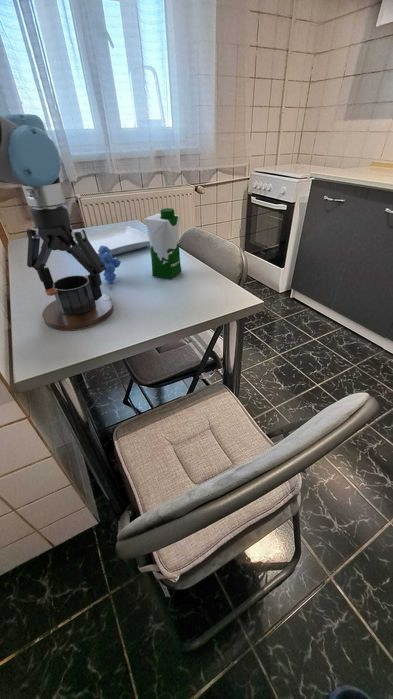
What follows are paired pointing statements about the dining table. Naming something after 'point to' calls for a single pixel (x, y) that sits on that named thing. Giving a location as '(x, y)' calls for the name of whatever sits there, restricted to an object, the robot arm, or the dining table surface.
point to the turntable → (78, 315)
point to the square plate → (118, 239)
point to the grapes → (108, 263)
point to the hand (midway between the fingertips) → (74, 295)
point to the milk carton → (164, 243)
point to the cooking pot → (73, 294)
